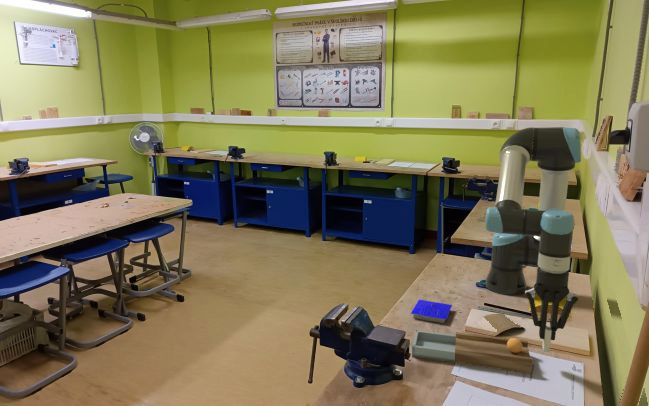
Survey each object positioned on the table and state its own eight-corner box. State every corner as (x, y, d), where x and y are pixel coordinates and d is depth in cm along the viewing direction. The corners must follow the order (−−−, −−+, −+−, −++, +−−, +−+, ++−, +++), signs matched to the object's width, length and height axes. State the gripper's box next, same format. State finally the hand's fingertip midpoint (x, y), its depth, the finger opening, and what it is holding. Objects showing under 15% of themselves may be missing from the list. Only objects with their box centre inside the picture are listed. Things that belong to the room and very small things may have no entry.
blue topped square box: (410, 319, 153) (410, 305, 152) (418, 305, 163) (419, 291, 162) (445, 326, 148) (446, 311, 146) (451, 311, 158) (452, 296, 157)
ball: (505, 347, 128) (506, 334, 127) (521, 349, 126) (521, 336, 125) (507, 354, 124) (508, 341, 123) (522, 356, 123) (523, 343, 122)
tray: (415, 339, 139) (415, 330, 138) (455, 344, 135) (455, 335, 134) (412, 356, 129) (412, 346, 129) (454, 362, 126) (455, 352, 125)
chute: (455, 344, 135) (456, 332, 134) (526, 354, 129) (527, 341, 128) (454, 362, 126) (455, 349, 125) (531, 373, 120) (532, 359, 119)
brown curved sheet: (506, 317, 153) (507, 310, 152) (529, 330, 144) (530, 323, 143) (472, 325, 148) (472, 317, 148) (493, 339, 139) (494, 331, 138)
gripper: (528, 271, 116) (521, 353, 121) (584, 276, 112) (575, 360, 117) (524, 262, 123) (518, 339, 128) (577, 266, 119) (569, 345, 124)
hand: (545, 349), depth 122 cm, fingers closed
